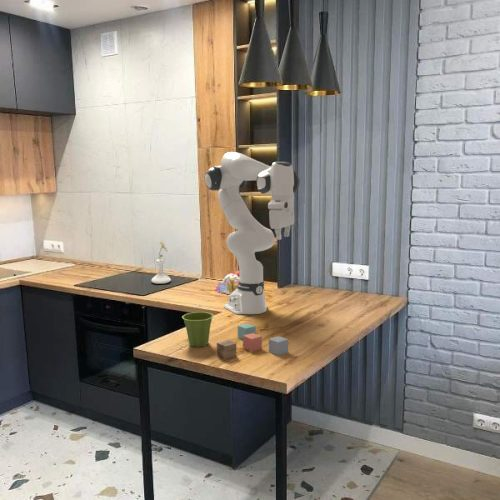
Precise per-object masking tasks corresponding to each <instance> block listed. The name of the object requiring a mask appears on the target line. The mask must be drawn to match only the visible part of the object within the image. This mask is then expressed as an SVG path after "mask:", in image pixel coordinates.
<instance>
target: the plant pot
mask: <svg viewBox="0 0 500 500" xmlns="http://www.w3.org/2000/svg"><path fill="white" fill-rule="evenodd" d="M213 317H214V314H213V313H211V312H207V311H195V312H188V313H185V314H184V315H183V314H182V316H181V318H182V319H183V322H184V325H185V329H186V334H187V338H188V343H189V346H190V347H196V348H202V347H205V346H207V345H208V344H209V342H210V341H209V339H210V331H211V325H212V319H213Z"/></svg>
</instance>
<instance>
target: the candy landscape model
mask: <svg viewBox="0 0 500 500" xmlns="http://www.w3.org/2000/svg"><path fill="white" fill-rule="evenodd" d="M239 281H240V275H239V270H236V271H235V272H234V273H232V272H231V273H229V274H226V276H225V277H224V278H222V281H217V285H216V286H215V289H214V291H215V292H217V293H219V294H221V295H222V294H227V295H230V294H231V293H232V292H234V291H235V290H236V289H237V286H238V284H237V283H238V282H239Z"/></svg>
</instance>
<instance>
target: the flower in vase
mask: <svg viewBox="0 0 500 500" xmlns="http://www.w3.org/2000/svg"><path fill="white" fill-rule="evenodd" d="M159 243H160V246H161V247H160V249H159V253H158V255H159V256H158V258H159V259H156V260H155V261H156V262H157V265H158V273H157V274H156V275H154V277H152V278H151V280H150V281H151V282H152V283H153V284H157V285H158V284H161V285H163V284H167V283H170V282H171V280H172V279H171V278H170V276H168V275H167V274H166V273H165V272H164V266H163V265H164V262H165V259H164V258H163V259H162V257H163V254H161V252H162V249H163V250H164V251H165V252H166V253H167V252H169V251H168V248H167V247H166V244H165V243H163V241H162V240H159Z"/></svg>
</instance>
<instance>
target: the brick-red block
mask: <svg viewBox="0 0 500 500" xmlns="http://www.w3.org/2000/svg"><path fill="white" fill-rule="evenodd" d="M242 348H243V350H246V351H248V352H250V353H252V352H256V351H259V350H262V348H263V336H262V335H261V334H257V333H256V334H255V333H251V334H247V335H244V336H243V339H242Z"/></svg>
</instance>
